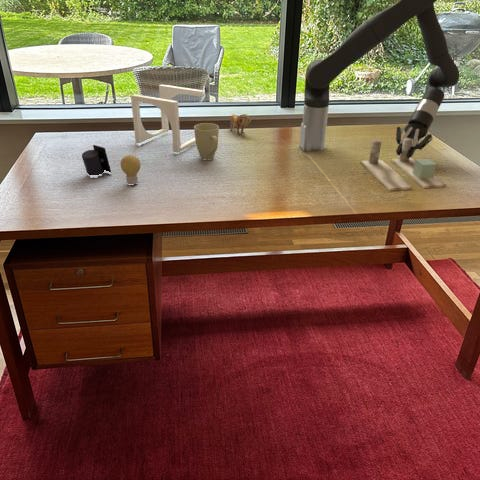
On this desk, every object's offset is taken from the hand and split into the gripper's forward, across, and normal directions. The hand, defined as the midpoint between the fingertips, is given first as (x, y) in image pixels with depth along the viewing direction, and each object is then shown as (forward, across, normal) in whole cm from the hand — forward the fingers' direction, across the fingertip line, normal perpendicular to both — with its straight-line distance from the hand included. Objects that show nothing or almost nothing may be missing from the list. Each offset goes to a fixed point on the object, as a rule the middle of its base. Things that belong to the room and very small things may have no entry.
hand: (403, 155), depth 177 cm
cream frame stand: (+32, -80, -26) cm, 90 cm away
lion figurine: (+11, -69, -5) cm, 71 cm away
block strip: (+5, +8, -1) cm, 9 cm away
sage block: (+6, +11, -3) cm, 13 cm away
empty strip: (+12, 0, -7) cm, 14 cm away
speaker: (+60, -73, -54) cm, 109 cm away
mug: (+33, -56, -27) cm, 71 cm away
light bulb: (+57, -59, -51) cm, 97 cm away
